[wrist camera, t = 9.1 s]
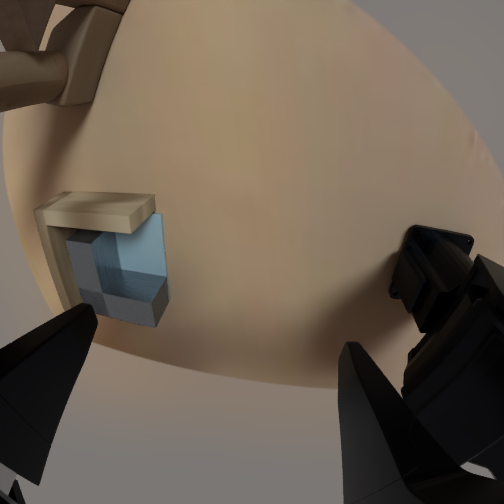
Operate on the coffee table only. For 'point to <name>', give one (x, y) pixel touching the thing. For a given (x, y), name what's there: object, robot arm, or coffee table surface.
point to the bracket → (114, 280)
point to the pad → (144, 248)
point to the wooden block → (54, 51)
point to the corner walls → (84, 217)
